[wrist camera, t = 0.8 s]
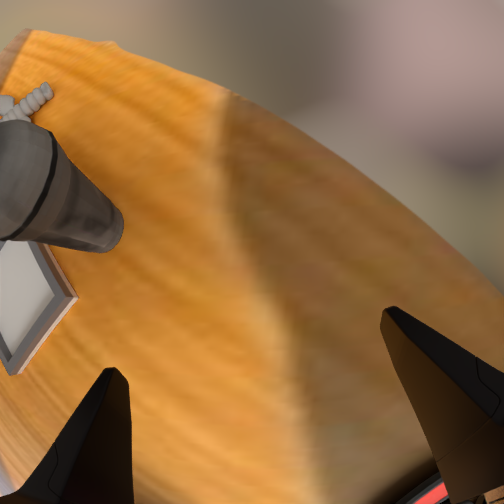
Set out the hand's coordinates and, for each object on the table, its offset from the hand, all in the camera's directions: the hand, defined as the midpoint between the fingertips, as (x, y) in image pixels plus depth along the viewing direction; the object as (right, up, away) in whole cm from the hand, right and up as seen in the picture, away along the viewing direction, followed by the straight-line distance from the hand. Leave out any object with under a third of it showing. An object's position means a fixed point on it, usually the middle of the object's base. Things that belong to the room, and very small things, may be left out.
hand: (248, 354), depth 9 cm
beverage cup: (-13, +5, +15) cm, 21 cm away
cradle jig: (-25, -1, +14) cm, 29 cm away
